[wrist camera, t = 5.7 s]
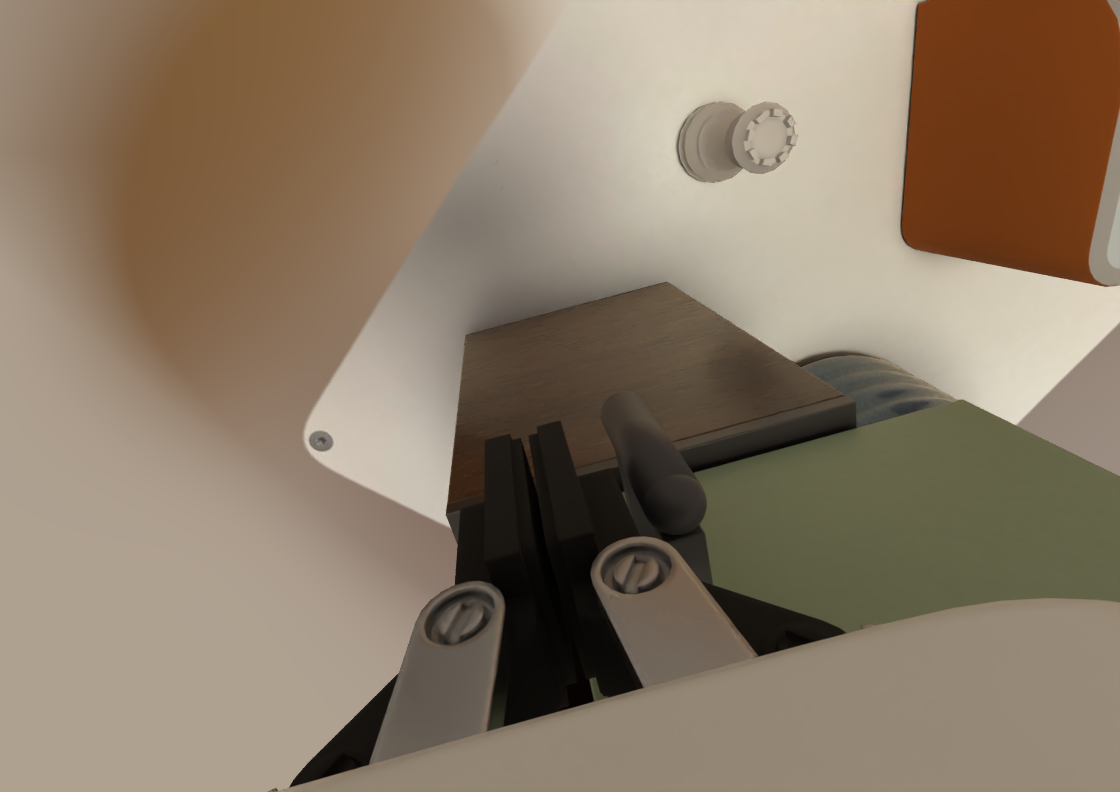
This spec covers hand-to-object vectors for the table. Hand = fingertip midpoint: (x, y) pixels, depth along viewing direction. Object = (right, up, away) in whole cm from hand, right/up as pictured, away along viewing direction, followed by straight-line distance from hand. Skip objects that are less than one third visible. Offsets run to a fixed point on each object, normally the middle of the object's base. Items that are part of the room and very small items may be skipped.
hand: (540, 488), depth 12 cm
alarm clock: (+27, +19, +24) cm, 41 cm away
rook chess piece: (+10, +18, +22) cm, 30 cm away
